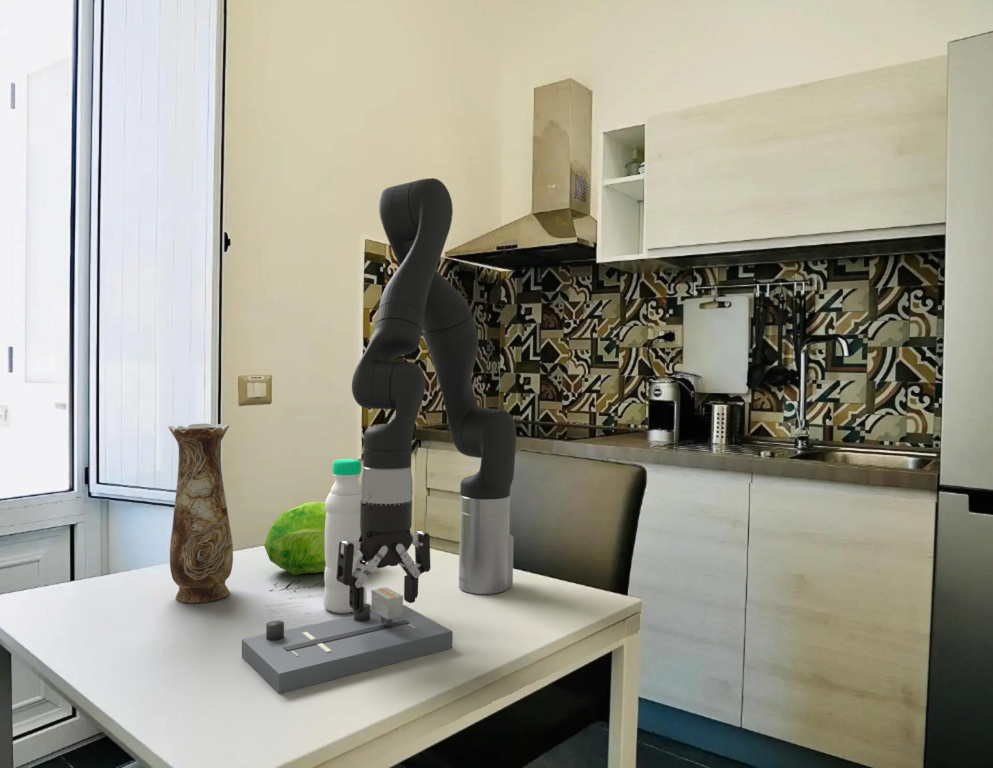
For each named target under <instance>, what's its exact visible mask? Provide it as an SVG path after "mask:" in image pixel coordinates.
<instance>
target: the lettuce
mask: <svg viewBox="0 0 993 768" xmlns="http://www.w3.org/2000/svg"><path fill="white" fill-rule="evenodd" d="M325 502H326V501H318V500H317V501H307V502H303V503H301V504H299V505H296V506H294V507H291V508H290V509H287V510H285V511H283V512H282V513H280V515H279V516H278V517H277V518H276V519H275V521H274V522H273V524H272V525H271V526H270V527H269V530H268V533H267V536H266V539H265V542H264V545H263V546H264V549H265V552H266V554H267V556H268V559H269V561H270V562H271V563H273V564H274V565H276V566H277V567H278V568H280V569H282V570H284V571H286V572H288V573H290V574H292V575H301V574H302V575H303V574H315V573H323V572H325V567H326V562H325V520H326V509H325Z"/></svg>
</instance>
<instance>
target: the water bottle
mask: <svg viewBox="0 0 993 768" xmlns="http://www.w3.org/2000/svg"><path fill="white" fill-rule="evenodd" d="M332 474H333V477H334V480H335V481H334V483H333V484H332V487H331V488H330V492H329V493H328V495H327V497H326V499H325V501H324V502H325V509H326V520H325V562H326V567H325V571H324V573H323V575H324V577H323V578H324V592H323V594H324V595H323V606H324V608H325V609H326V610H327V611H329V612H330V611H331V612H330V613H334V614H335V613H336V614H350V612H352V613H354V611H353V609H352V608H351V607H350V605H349V591H350V587H349V585H344V584H343V583H341V582H339V581H338V580H337V578H336V577H337V564H338V551H339V543H340V541H341V540H346V541H358V540H359V538H360V535H361V530H360V506H361V483H360V482H359V477H361V474H362V462H361V461H360V460H358V459H356V458H355V459H354V458H343V459H342V458H339V459H335V460H334V461H333V463H332ZM361 555H362V553H361V551H360V550H359V549H358V550H357V552H356V555H355V556H354V557H353V568H352V572H353V570H354V569H355V564H356V563H357V561H358V559H359V558H360V556H361ZM366 585H367V579H366V580H365V582H364V584H363V585H362V587H364V603H368V602H367V600H368V599H367V597H368V594H367V586H366Z"/></svg>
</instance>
